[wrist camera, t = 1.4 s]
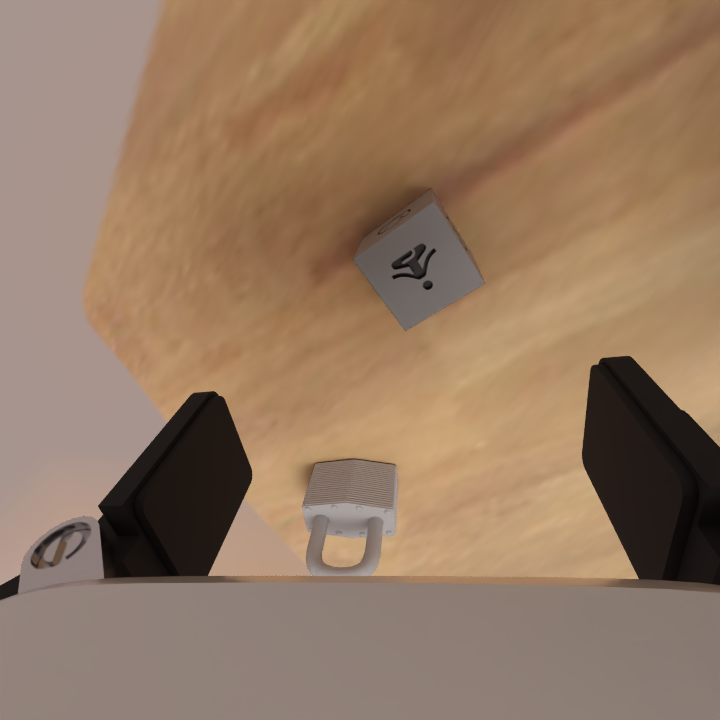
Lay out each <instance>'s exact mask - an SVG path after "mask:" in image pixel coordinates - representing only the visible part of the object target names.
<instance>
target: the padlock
mask: <svg viewBox="0 0 720 720" xmlns="http://www.w3.org/2000/svg"><path fill="white" fill-rule="evenodd" d="M397 499H398V479H397V467H396V465H392V464H385V463H378V462H370V461H363V460H356V459H352V460H343V461H334V462H325V463H316V464H315V465H314V468H313V472H312V475H311V478H310V482H309V485H308V488H307V492H306V495H305V498H304V501H303V505H302V509H303V513H304V518H305V523H306V527H307V531H309V532H311V536H310V539H309V543H308V547H307V553H306V563H307V567H308V569H309V571H310V573H311V575H312V576H371V575H372V574H373V573H374V572H375V570H376V568H377V566H378V563H379V558H380V553H381V542H382V536H391V535H395V533H396V519H397V518H396V517H397V501H398V500H397ZM326 534H327V535H334V536H340V537H347V538H361V537H367V540H366V548H365V553H364V556H363V559H362V560H361V562H360V563H358V564H357V565H354V566H352V567H332V566H329V565H327V564H325V563H324V562H323V560H322V550H323V546H324V541H325V537H326Z"/></svg>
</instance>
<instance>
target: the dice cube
mask: <svg viewBox="0 0 720 720" xmlns="http://www.w3.org/2000/svg"><path fill="white" fill-rule="evenodd" d="M353 261H354V262H355V264H356V265H357V266H358V268H359V269H360V270H361V272H362V273H363V274H364V276H365V277H366V278H367V280H368V281H369V283H370V284H371V285H372V287H373V288H374V289H375V291H376V292H377V293H378V295H379V296H380V298H381V299H382V300H383V302H384V303H385V304H386V306H387V307H388V308H389V310H390V311H391V312H392V314H393V315H394V317H395V318H396V319H397V321H398V322H399V323H400V325H401V326H402V327H403V329H404V330H405V331H406V330H408V329H410V328H411V327H413V326H415V325H416V324H418V323H420V322H421V321H423V320H425V319H426V318H428V317H430V316H431V315H433V314H435V313H436V312H438V311H440V310H441V309H443V308H445V307H446V306H448V305H450V304H452V303H453V302H455V301H457V300H458V299H460V298H462V297H463V296H465V295H467V294H468V293H470V292H472V291H473V290H475V289H477V288H478V287H480V286H482V285H483V284H485V282H484V280H483V277H482V275H481V273H480V270H479V268H478V266H477V263H476V261H475V259H474V257H473V255H472V254H471V252H470V250H469V249H468V247H467V245H466V244H465V242H464V241H463V239H462V237H461V236H460V234H459V232H458V231H457V229H456V228H455V226H454V224H453V223H452V221H451V220H450V218H449V216H448V215H447V213H446V211H445V210H444V208H443V207H442V205H441V203H440V202H439V200H438V198H437V197H436V195H435V194H434V192H433V190H432V189H429V190H428V191H427V192H425V193H424V194H423V195H421V196H420V197H418V198H417V199H416V200H414V201H413V202H412V203H410V204H409V205H407V206H406V207H405V208H403V209H402V210H401V211H399V212H398V213H397V214H395V215H394V216H392V217H391V218H390V219H388V220H387V221H386V222H384V223H383V224H381V225H380V226H379V227H377V228H376V229H375V230H373V231H372V232H370V233H369V234H368V235H366V236H365V237H364V238H363V239H362V241H361V243H360V245H359V247H358V249H357V251H356V254H355V256H354V258H353Z"/></svg>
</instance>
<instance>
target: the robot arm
mask: <svg viewBox="0 0 720 720" xmlns="http://www.w3.org/2000/svg"><path fill="white" fill-rule="evenodd" d="M582 459H583V464H584V467H585V470H586V472H587V474H588V476H589V478H590V480H591V482H592V484H593V486H594V488H595V490H596V492H597V494H598V496H599V498H600V500H601V502H602V505H603V507H604V509H605V511H606V513H607V515H608V517H609V519H610V521H611V523H612V525H613V527H614V529H615V531H616V533H617V535H618V537H619V539H620V541H621V543H622V545H623V547H624V549H625V551H626V553H627V555H628V557H629V560H630V562H631V564H632V566H633V568H634V570H635V572H636V574H637V576H638V578H639V579H606V578H564V577H458V576H208V574H209V572H210V570H211V567H212V565H213V563H214V561H215V559H216V557H217V555H218V552H219V550H220V548H221V546H222V543H223V541H224V539H225V537H226V535H227V533H228V531H229V529H230V527H231V524H232V522H233V520H234V518H235V516H236V514H237V511H238V509H239V507H240V505H241V503H242V501H243V499H244V496H245V494H246V492H247V490H248V488H249V486H250V483H251V481H252V469H251V466H250V464H249V461H248V459H247V456H246V453H245V451H244V448H243V446H242V443H241V440H240V438H239V435H238V433H237V430H236V427H235V425H234V422H233V420H232V417H231V414H230V412H229V409H228V407H227V404H226V401H225V399H224V398H223V397H222V396H219V395H218V394H217V393H216V392H214V391H211V392H199V393H193V394H192V395H191V396H190V397H189V398H188V399H187V400H186V402H185V403H184V404H183V405H182V406H181V407H180V409H179V410H178V411H177V412H176V413H175V415H174V416H173V417H172V418H171V419H170V421H169V422H168V423H167V424H166V425H165V427H164V428H163V429H162V430H161V431H160V433H159V434H158V435H157V436H156V437H155V439H154V440H153V441H152V442H151V443H150V445H149V446H148V447H147V448H146V449H145V451H144V452H143V453H142V454H141V455H140V456H139V458H138V459H137V460H136V461H135V462H134V464H133V465H132V466H131V467H130V468H129V470H128V471H127V472H126V473H125V474H124V476H123V477H122V478H121V479H120V480H119V482H118V483H117V484H116V485H115V486H114V488H113V489H112V490H111V491H110V492H109V494H108V495H107V496H106V497H105V498H104V499H103V501H102V502H101V503H100V504H99V505H98V507H99V508H100V510H101V512H102V513H103V515H102V517H101V518H100V519H99V520H98V521H97V520H96V519H94V518H93V517H85V516H83V517H79V518H73V519H71V520H69V521H66V522H64V523H61V524H60V525H58V526H56V527H54V528H53V529H51V530H49V531H48V532H47V533H46V534H44V535H43V536H42V537H40V538H39V539H38V540H37V541H36V542H35V543H34V544H33V545H32V546H31V548H30V549H29V550H28V552H27V553H26V555H25V556H24V559H23V562H22V565H21V574H20V575H18V576H17V577H15V578H13V579H11V580H10V581H8V582H6V583H4V584H2V585H0V720H720V447H719V446H718V445H717V444H716V443H715V442H714V441H713V440H712V439H711V438H710V437H709V436H708V434H707V433H706V432H705V431H704V430H703V429H702V428H701V427H700V426H699V425H698V424H697V423H696V422H695V421H694V420H693V419H692V417H691V416H690V415H689V414H687V413H686V412H685V411H683V410H680V409H679V408H678V407H677V405H676V404H675V403H674V402H673V401H672V400H671V399H670V398H669V397H668V396H667V395H666V394H665V393H664V391H663V390H662V389H661V388H660V387H659V386H658V385H657V384H656V383H655V382H654V381H653V380H652V379H651V377H650V376H649V375H648V374H647V373H646V372H645V371H644V370H643V369H642V368H641V367H640V366H639V365H638V363H637V362H636V361H635V360H634V359H633V358H632V357H630V356H621V357H609V358H602V359H600V361H599V364H598V365H593V366H592V367H591V370H590V379H589V389H588V399H587V409H586V419H585V429H584V439H583V449H582Z"/></svg>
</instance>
